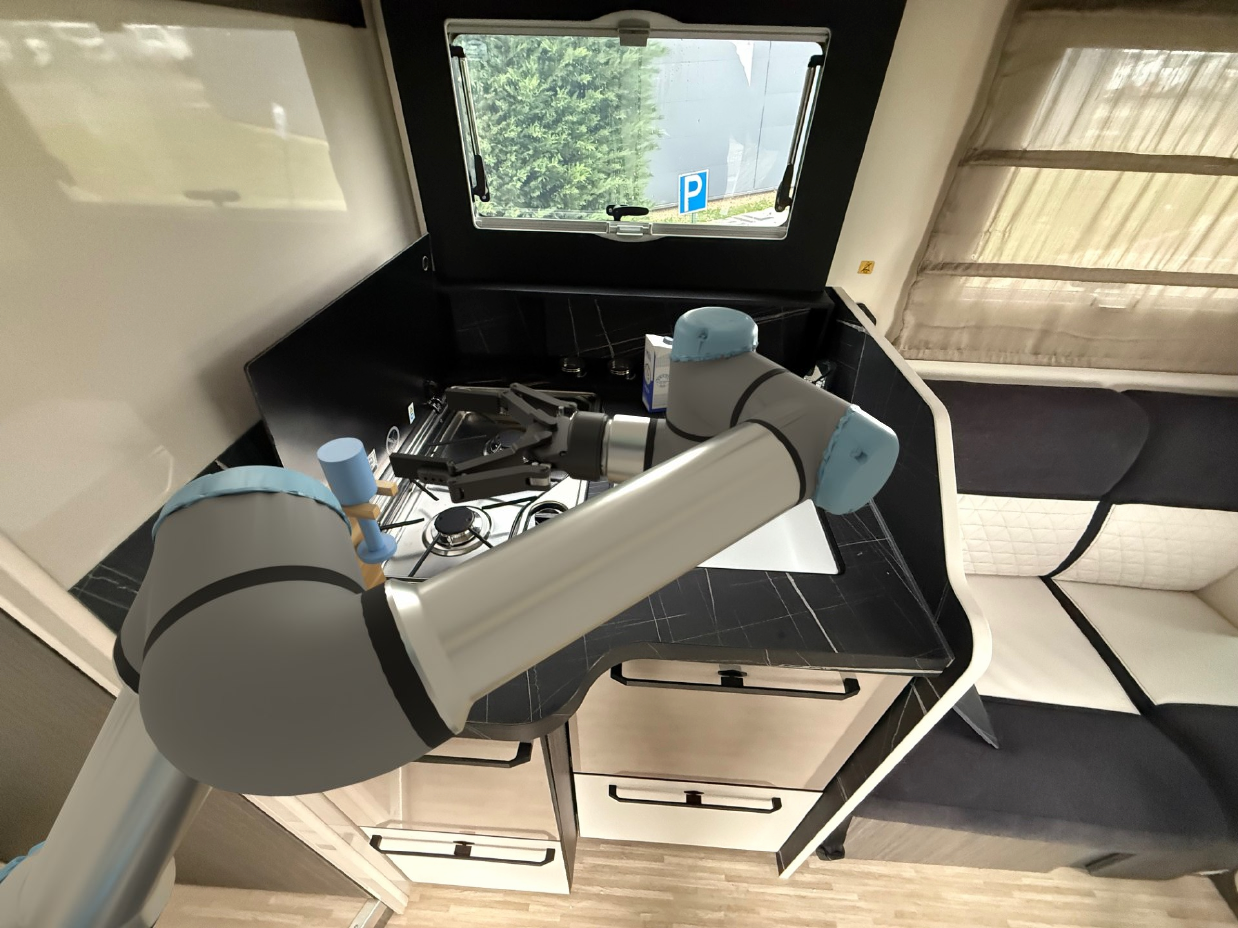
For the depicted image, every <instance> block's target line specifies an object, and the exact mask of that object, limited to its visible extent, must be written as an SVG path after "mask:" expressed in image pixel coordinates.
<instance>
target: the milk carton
mask: <svg viewBox="0 0 1238 928" xmlns="http://www.w3.org/2000/svg"><path fill="white" fill-rule="evenodd" d="M672 344H673V338H672V337H670V336H665V335H664V336H659V335H655V334H645V345H644V363H643V364H644V365H643V380H642V381H643V383H642V398H641V400H642V402H643V404H644V406H645V408H646V409H647V411H648V413H649V414H650V413H657V412H666V411H667V399H668V384H669V369H670V359H669V355H670V354H671V350H672Z"/></svg>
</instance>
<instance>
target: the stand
mask: <svg viewBox="0 0 1238 928" xmlns="http://www.w3.org/2000/svg"><path fill="white" fill-rule="evenodd" d="M375 481H376V484H377V492H376V494H375V495H374V496H383V497H392V498H394V497H395V496H396V495H397V493H398V492H399V487H398V484H397V482H396V481H391V480H390V481H389V480H381V479H375ZM326 487H327V488H328V489H329V490H330V491H331V489H330V486H329V484H328V485H326ZM331 492H332V491H331ZM340 505H341V504H340ZM341 508H342V511H343V512H344V513H345V514H346V516H347V517H348V518H349V520H350V524H351V527H352V536H351V539H352V543H353V546H354V549H355V552H356V555H357V559H358V562H359V565H360V568H361V572H362V575H363V578H364V581H365V584H366V588H367V590H369V589H371V588H373V587H375V586H377V585H379V584H381V583H383V582H385V581H387V580H388V579H387V577H386V575H385V572H384V569H383V568H382V565H381V563H378V564H366V563H364V562H362V561H361V560H360V559H359V556H358V554H357V548H358V546H359V544H360V543H361V542H362V541H363V540H364V536H363V534H362V531H361V529H360V526H359V524H358V521H357V519H356V518H363V519H370V520H376V521H377V519H378V518H379V516H380V515H381V514H382V512H381V509H380V506H379V504H376V503H370V504H369V503H362V504H358V505H353V506H344V505H341Z"/></svg>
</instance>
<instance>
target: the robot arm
mask: <svg viewBox="0 0 1238 928" xmlns="http://www.w3.org/2000/svg"><path fill="white" fill-rule="evenodd" d="M758 332H759V329H758V325H757V323H756V322H755V321H754V319H753V318H752V317H751V316H750V315H748V314H747V313H745V312H743V311H740V310H737V309H733V308H729V307H721V306H705V307H700V308H694V309H691V310H688V311H687V312H685V313H684V314H682V315H681V316H679V318H678V319H677V321H676V322H675V325H674V331H673V336H672V337H673V338H672V339H673V344H672V350H671V354H670V355H669V359H670V369H669V384H668V399H667V411H665V418H654V417H643V416H638V415H637V416H635V415H626V414H615V415H614V416H612V418H610V416H609V415H608V414H607V413H603V412H602V413H601V412H593V411H583V410H579V411H578V404H577V403H576V402H573V401H566V400H560V399H558V398H555V397H553V396H551V395H548V394H545V393H543V392H540V391H537V390H535V389H533V388H531V387H528V386H526V385H523V384H520V383H517V382H513V383H511V384H510V385H509V389H502V390H501V391H500V392H499V391H489V390H474V389H465V388H454V387H447V388H445V390H444V394H445V398H446V404H447V408H448V410H449V411H454V412H455V411H457V412H467V413H477V414H486V415H496V416H499V415H500V414H501V412H502V416H509V417H510V418H512V419H513V420H515V421H516V422H517V423H519V424H520V425H521V426H522V427H524V429H525V430H526V431H525V433H524V434H522V436H521V437H520V440H517V441H514V442H513V443H512V444H511V446H510V447H507V448H504V449H502V450H497V451H494V452H491V453H489V454H485V455H482V456H479V457H475V458H472V459H469V460H466V461H463V462H460V463H456V464H455V463H454V458H449V457H439V456H430V455H423V454H422V455H421V454H413V453H405V452H404V453H403V452H395V451H391V453H390V454H389V455H388V459H389V463H390V466H391V469H392V472H393V476H394V478H398V479H405V480H406V479H407V480H415V481H419V482H420V483H422V484H424V485H432V486H438V487H439V486H440V487H447V489H448V493H449V497H450V502H451V503H452V504H457V505H458V504H463V503H468V502H474V501H481V500H485V499H491V498H497V497H501V496H507V495H512V494H518V493H524V492H549V491H550V490H551V489H552V485H551V475H552V473H553V472H558V471H561V472H564V473H566V474H567V475H568V476H569V478H570V479H572V480H576V481H583V482H592V483H593V482H594V483H600V482H601V481H603V480H604V478H606V481H607V482H608V483H609V484H614V485H615V486H613V487H610V488H608V489H607V490H604V491H603V492H600V493H598V494H597V495H594V496H593V497H591V498H588V499H586V500H584V501H582V502H581V503H578V504H577V505H575V506H572V507H570V508H568V509H567V510H565V511H562V512H561V513H558V514H557V515H554V516H553V517H551V518H548V519H546V520H544V521H542V522H540V523H538V524H536V525H534V526H532V527H530V528H528V529H527V530H524V531H523V532H520V533H518V534H516V535H514V536H512V537H510V538H508V539H506V540H504V541H502V542H500V543H497V544H496V545H494V546H492V547H490V548H488V549H486V550H484V551H482V552H480V553H478V554H476V555H474V556H472V557H470V558H468V559H466V560H464V561H462V562H460V563H458V564H456V565H454V566H452V567H450V568H448V569H446V570H443V571H442V572H440V573H438V574H436V575H434V576H431V577H430V578H428V579H426V580H424V581H422V582H420V583H411V582H407V581H404V580H399V579H397V578H393V577H392V578H389V579H386V580H387V581H385V582H383V583H381V584H379V585H377V586H375V587H373V588H371V589H369V590H367V588H366V584H365V581H364V578H363V575H362V572H361V568H360V565H359V562H358V559H357V555H356V552H355V549H354V546H353V543H352V539H351V536H352V527H351V524H350V520H349V518H348V517H347V516H346V514H345V513H344V512H343V511H342V508H341V505H340V503H339V501H338V500H337V498H336V497H335V495H334V494H333V493H332V492H331V491H330V490H329V489H328V488H327V485H325V484H324V483H322V482H321V481H319V480H318V479H316V478H315V477H313V476H310V475H308V474H306V473H303V472H300V471H297V470H293V469H291V468H286V467H280V466H279V467H278V466H272V465H243V466H235V467H230V468H227V469H224V470H222V471H218V472H215V473H212V474H211V473H209V474H205V475H203V476H200V477H198V478H196V479H194V480H192V481H190V482H188V483H187V484H185V485H184V486H183V487H181V488H179V489H178V490H177V491H176V492H175V493H173V494H172V495H171V496H170V498H169V499H168V500H167V501H166V502H165V504H164V506H163V507H162V509H161V511H160V513H159V516H158V518H157V520H156V521H155V522H154V524H153V527H152V530H151V539H152V545H153V547H154V548H153V553H152V556H151V559H150V562H149V566H148V569H147V571H146V574H145V577H144V579H143V581H142V583H141V585H140V587H139V589H138V591H137V594H136V596H135V597H134V600H133V602H132V604H131V606H130V608H129V610H128V612H127V614H126V616H125V618H124V621H123V622H122V625H121V626H120V629H119V631H118V633H117V635H116V638H115V640H114V643H113V647H112V649H111V651H112V652H111V663H112V669H113V671H114V673H115V675H116V677H117V679H118V680H119V682H120V684H121V685H122V687H121V689H120V691H119V693H118V694H117V697H116V699H115V701H114V702H113V705H112V707H111V709H110V711H109V713H108V715H107V717H106V718H105V721H104V723H103V725H102V727H101V729H100V731H99V733H98V735H97V737H96V739H95V741H94V743H93V745H92V747H91V749H90V751H89V753H88V755H87V757H86V759H85V761H84V763H83V765H82V766H81V767H82V768H81V769H80V770H79V773H78V775H77V777H76V779H75V781H74V783H73V785H72V787H71V789H70V791H69V793H68V795H67V796H66V799H65V801H64V803H63V805H62V807H61V809H60V811H59V813H58V815H57V817H56V819H55V821H54V823H53V825H52V827H51V829H50V832H49V833H48V835H47V837H46V839H45V840H43V841H42V842H39V843H38V844H36V845H35V846H32V847H31V848H29V850H28V852H27V855H19V856H16V857H15V858H13V859H11V860H10V861H9V862H8V863H6V865H4V866H3V867H2V868H1V869H0V928H154V927H155V925H156V924H157V921H159V918H160V916H161V915H162V913H163V912H164V910H165V908H166V906H167V904H168V902H169V899H170V898H171V897H172V896H171V895H172V893H173V890H174V887H175V882H176V876H177V874H176V871H177V870H176V869H177V867H176V859H175V856H174V855H175V853H176V852H177V850H178V848H179V846H180V845H181V843H182V841H183V839H184V838H185V836H186V835H187V832H188V831H189V829H190V827H191V825H192V824H193V822H194V820H195V819H196V817H197V815H198V814H199V812H200V810H201V809H202V807H203V805H204V803H205V802H206V800H207V798H208V797H209V794H210V793H211V791H212V790H213V788H214V789H217V790H218V791H219V790H220V791H224V792H227V793H228V792H229V793H233V794H238V795H248V796H260V797H271V798H272V797H295V796H304V795H311V794H312V795H314V794H321V793H325V792H329V791H333V790H337V789H341V788H345V787H350V786H354V785H356V784H357V785H358V784H360V783H364V782H366V781H369V780H372V779H376V778H377V777H380V776H383V775H386V774H389V773H391V772H393V771H395V770H398V769H399V768H401V767H403V766H405V765H407V764H410V763H412V762H414V761H416V760H419V759H420V758H422V757H424V756H425V755H427V754H428V753H430V752H431V751H433V750H435V749H436V748H438V747H440V746H441V745H443V744H445V743H446V742H448V741H450V740H451V739H452V738H454V737H456V736H457V735H458V734H460V733H462V732H463V731H464V728H465V725H466V723H467V719H468V717H469V714H470V712H471V708H472V707H473V706H474V704H475V703H476V702H477V701H479V700H480V699H482V698H483V697H485V696H486V695H488V694H490V693H492V692H493V691H496V689H498V688H499V687H501V686H503V685H505V684H506V683H508V682H509V681H511V680H513V679H515V678H516V677H518V676H519V675H521V674H523V673H524V672H526V671H527V670H529V669H531V668H533V667H534V666H536V665H538V664H539V663H541V662H543V661H544V660H545V659H547V658H549V657H551V656H552V655H554V654H555V653H557V652H559V651H561V650H562V649H564V648H565V647H567V646H569V645H570V644H572V643H573V642H575V641H577V640H579V639H580V638H582V637H583V636H585V635H587V634H589V633H590V632H592V631H593V630H595V629H596V628H599V627H600V626H602V625H603V624H605V623H607V622H608V621H610V620H612V619H613V618H615V617H617V616H618V615H619V614H621V613H623V612H624V611H626V610H628V609H630V608H631V607H632V606H635V605H636V604H638V603H639V602H641V601H642V600H644V599H645V598H647V597H649V596H650V595H652V594H654V593H656V592H657V591H659V590H661V589H662V588H664V587H665V586H667V585H669V584H671V583H672V582H673V581H675V580H677V579H678V578H680V577H682V576H684V575H685V574H687V573H688V572H690V571H692V570H693V569H695V568H697V567H698V566H700V565H702V564H703V563H705V562H706V561H709V560H710V559H711V558H713V557H715V556H716V555H718V554H720V553H721V552H723V551H724V550H726V549H728V548H730V547H731V546H733V545H734V544H737V542H739V541H740V540H742V539H744V538H746V537H748V536H749V535H751V534H752V533H754V532H756V531H757V530H759V529H761V528H762V527H764V526H765V525H768V524H769V523H770V522H772V521H774V520H776V519H777V518H779V517H780V516H782V515H784V514H785V513H787V512H789V511H790V510H792V509H793V508H796V507H797V506H799V505H801V504H804V502H807V501H808V500H810V501H812V502H813V504H814V505H815V506H816V507H818V508H822V509H823V510H825V511H827V512H829V513H830V514H832V515H837V516H838V515H839V516H841V515H844V514H846V515H847V514H851V513H854V512H857V511H858V510H860V509H861V508H862V507H864V506H865V505H867V504H868V503H869V502H870V501H871V500H872V499H873V498H874V497H875V496H876V495H877V494H878V493H879V492H880V490H881V489H882V488H883V486H884V485H885V484H886V483H887V481H888V479H889V477H890V476H891V475H892V472H893V470H894V468H895V465H896V462H897V459H898V457H899V452H900V443H899V439H898V436H897V434H896V432H895V431H894V430H893V429H892V428H891V427H889V426H888V425H886V424H884V423H883V422H880V421H879V420H878V419H876V418H875V417H873V416H872V415H870V414H869V413H867V412H866V411H864V410H862V409H861V408H860V406H859V405H857V404H854V403H850V402H848V401H847V400H845V399H843V398H840V397H838V396H837V395H835V394H833V393H832V392H829V391H827V390H826V389H823V388H821V387H820V386H818V385H816V384H814V383H812V382H811V381H808V380H806V379H804V378H802V377H800V376H799V375H797V374H795V373H794V372H791V371H790V370H789V369H787V368H785V367H784V366H782V365H780V364H778V363H777V362H774V361H772V360H770V359H769V358H767V357H766V356H763V355H761V354H760V353H758V352H757V347H758V345H759V342H758V334H759V333H758ZM501 408H502V409H501ZM525 460H526V461H525Z"/></svg>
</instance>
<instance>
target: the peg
mask: <svg viewBox="0 0 1238 928" xmlns="http://www.w3.org/2000/svg"><path fill="white" fill-rule="evenodd" d="M316 457H317V460H318V463H319V465H320V468H321V469H322V472H323V474H324V477H325V479H326V481H327V484H328V485H329V486H330V489H331V491H332V493H333V494H334V495H335V497H336V498H337V500H338V501H339V503H340V504H341V505H344V506H353V505H358V504H362V503H369V504H371V502H370V500H371V499H372V498H373V497H375V496H376V495H375V494H376V492H377V484H376V481H375V480H376V478H375V476H374V473H373V470H372V467H371V464H370V461H369V458H368V455H367V452H366V449H365V447H364V444H363V442H362V441H361V440H360V439H358V438H355V437H339V438H336V439H332V440H330V441H328V442H326V443H324V444H323V445H321V446H320V447H319V449H318V450H317V451H316ZM356 519H357V521H358V524H359V526H360V529H361V531H362V534H363V536H364V540H363V541H362V542H361V543H360V544H359V546H358V548H357V554H358V556H359V559H360V560H361V561H362V562H364V563H366V564H378V563H380V564H381V563H384V562H387V561H389V560H390V559H391V558H393V556H394V555H395V554H396V552H397V549H398V543H397V540H396V538H395V536H393V535H392V534H391V533H385V532H384V533H383V532H382V531H381V530H380V526H379V524H378V522H377V519H376V520H370V519H363V518H356Z"/></svg>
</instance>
